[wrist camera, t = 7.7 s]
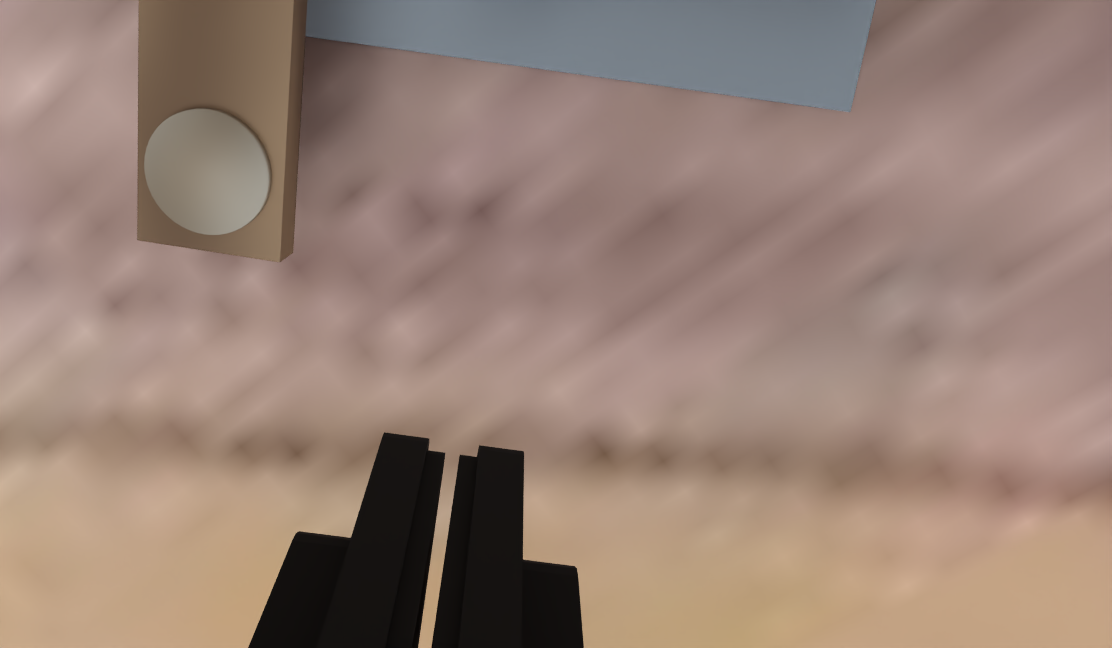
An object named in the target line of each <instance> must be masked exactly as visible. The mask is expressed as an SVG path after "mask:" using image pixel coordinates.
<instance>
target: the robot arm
mask: <svg viewBox="0 0 1112 648" xmlns="http://www.w3.org/2000/svg"><path fill="white" fill-rule="evenodd" d="M428 448H429V439H428V438H421V437H413V436H406V435H399V434H391V433H384V434H383V437H382V440H381V443H380V446H379V449H378V453H377V456H376V459H375V462H374V466H373V469H372V472H371V475H370V478H369V482H368V485H367V488H366V491H365V495H364V498H363V501H362V504H361V507H360V511H359V514H358V517H357V520H356V524H355V527H354V530H353V533H352V536H351V538H347V537H339V536H331V535H323V534H315V533H307V532H300V531H299V532H297V533H296V534H295V536H294V538H293V540H292V543H291V545H290V547H289V550H288V552H287V555H286V557H285V560H284V562H283V565H282V567H281V569H280V572H279V574H278V577H277V579H276V582H275V584H274V586H273V589H272V591H271V594H270V596H269V599H268V601H267V604H266V606H265V608H264V611H263V613H262V616H261V618H260V621H259V623H258V625H257V628H256V630H255V633H254V635H253V638H252V640H251V643H250V645H249V647H248V648H418V644H419V637H420V630H421V623H422V616H423V609H424V601H425V594H426V587H427V580H428V573H429V566H430V559H431V552H432V545H433V538H434V531H435V523H436V516H437V509H438V502H439V495H440V488H441V481H442V474H443V467H444V459H445V453H443V452H435V451H428ZM523 490H524V451H517V450H509V449H502V448H495V447H487V446H480V445H479V449H478V455H477V457H472V456H465V455H460V457H459V464H458V471H457V478H456V484H455V491H454V498H453V505H452V512H451V518H450V525H449V532H448V539H447V546H446V553H445V559H444V566H443V573H442V580H441V587H440V593H439V600H438V607H437V614H436V621H435V628H434V634H433V641H432V648H584V646H583V633H582V621H581V608H580V595H579V582H578V573H577V568H576V567H575V566H568V565H560V564H552V563H544V562H537V561H529V560H523Z"/></svg>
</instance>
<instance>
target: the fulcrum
mask: <svg viewBox="0 0 1112 648" xmlns="http://www.w3.org/2000/svg"><path fill="white" fill-rule="evenodd" d="M875 3H876V0H307V17H306V35H305V36H307V37H314V38H321V39H328V40H335V41H343V42H350V43H357V44H364V45H371V46H379V47H386V48H393V49H400V50H407V51H414V52H422V53H429V54H436V55H443V56H450V57H458V58H465V59H472V60H479V61H486V62H493V63H501V64H508V65H515V66H522V67H529V68H537V69H544V70H551V71H558V72H565V73H572V74H580V75H587V76H594V77H601V78H608V79H616V80H623V81H630V82H637V83H644V84H651V85H659V86H666V87H673V88H680V89H687V90H695V91H702V92H709V93H716V94H723V95H730V96H738V97H745V98H752V99H759V100H766V101H774V102H781V103H788V104H795V105H802V106H809V107H817V108H824V109H831V110H838V111H845V112H850V111H851V107H852V102H853V98H854V94H855V89H856V85H857V81H858V76H859V72H860V68H861V64H862V59H863V55H864V51H865V46H866V42H867V38H868V33H869V29H870V25H871V20H872V16H873V12H874V7H875Z"/></svg>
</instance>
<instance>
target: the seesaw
mask: <svg viewBox="0 0 1112 648" xmlns="http://www.w3.org/2000/svg"><path fill="white" fill-rule="evenodd" d="M306 17H307V0H139V45H138V221H137V240H140V241H146V242H153V243H159V244H166V245H172V246H178V247H185V248H191V249H198V250H204V251H210V252H217V253H223V254H230V255H236V256H242V257H249V258H255V259H262V260H268V261H275V262H281V261H282V260H284V259H285V258H286V257H288V256H289V255H290V254H292V253H293V244H294V227H295V209H296V192H297V174H298V157H299V139H300V122H301V104H302V87H303V69H304V52H305V35H306Z"/></svg>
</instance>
